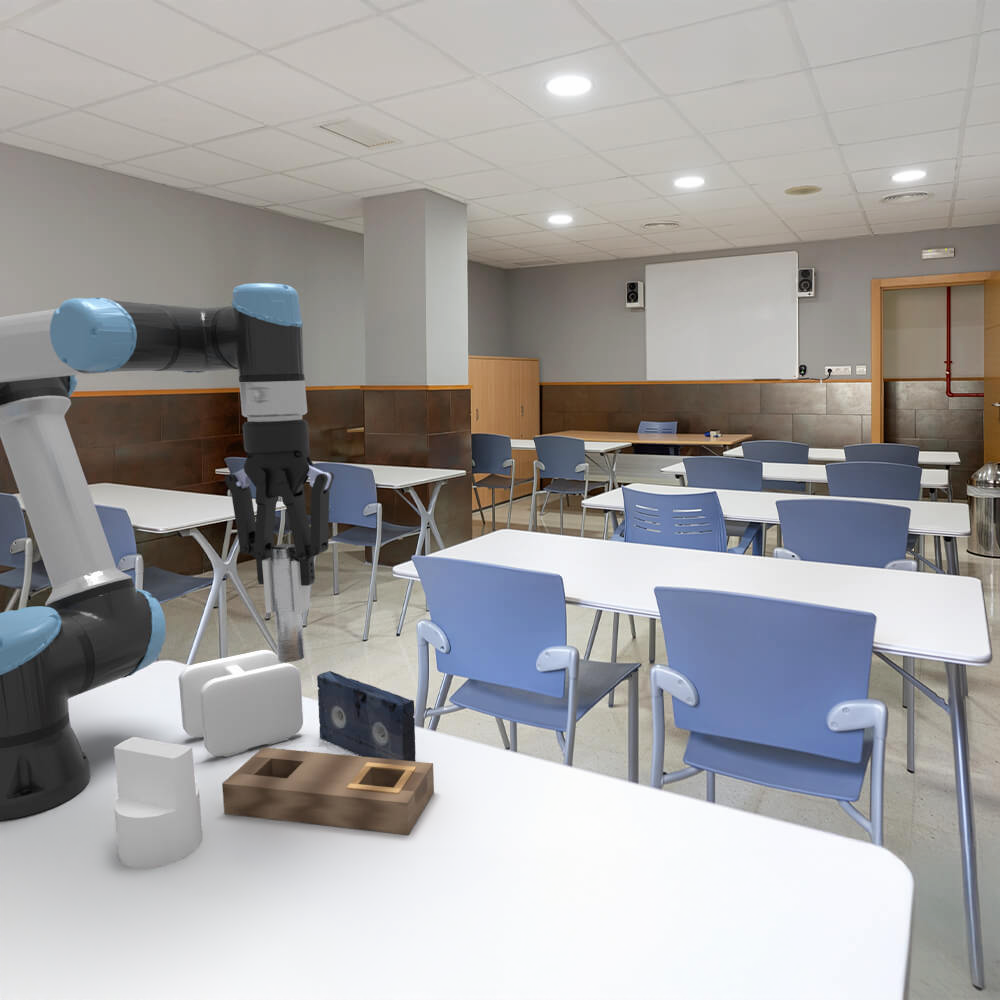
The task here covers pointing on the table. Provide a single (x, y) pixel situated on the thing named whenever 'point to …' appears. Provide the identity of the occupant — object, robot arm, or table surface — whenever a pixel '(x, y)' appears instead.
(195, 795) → the cylinder with rectangular tab
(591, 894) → the table surface
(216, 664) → the cable organizer
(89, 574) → the robot arm
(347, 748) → the vhs cassette tape
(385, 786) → the mount block
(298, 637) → the lock pin
